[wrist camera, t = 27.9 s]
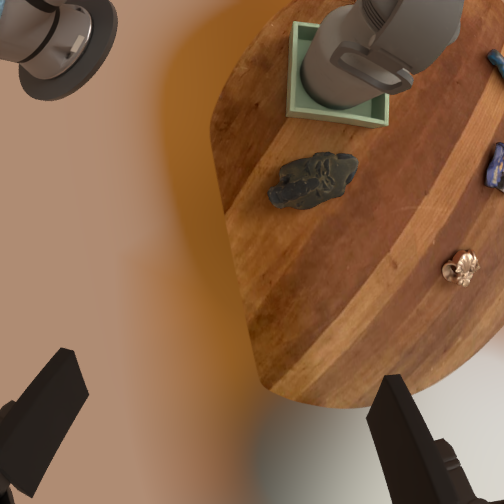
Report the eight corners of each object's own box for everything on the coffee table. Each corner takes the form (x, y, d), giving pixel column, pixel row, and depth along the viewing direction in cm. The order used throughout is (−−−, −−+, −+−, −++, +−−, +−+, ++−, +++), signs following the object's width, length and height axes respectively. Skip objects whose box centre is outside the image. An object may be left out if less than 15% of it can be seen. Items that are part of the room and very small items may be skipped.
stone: (363, 185, 40) (377, 189, 35) (278, 219, 42) (281, 228, 37) (346, 140, 38) (359, 138, 33) (259, 174, 40) (259, 177, 35)
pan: (285, 116, 37) (289, 111, 32) (289, 36, 33) (293, 20, 28) (373, 128, 37) (388, 125, 32) (374, 50, 33) (388, 39, 28)
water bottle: (351, 125, 37) (492, 94, 10) (286, 94, 36) (338, -10, 9) (375, 67, 34) (503, -8, 7) (313, 37, 33) (380, -91, 6)
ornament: (442, 290, 45) (453, 299, 41) (438, 257, 43) (450, 264, 39) (474, 273, 44) (485, 281, 40) (472, 240, 42) (483, 246, 38)
